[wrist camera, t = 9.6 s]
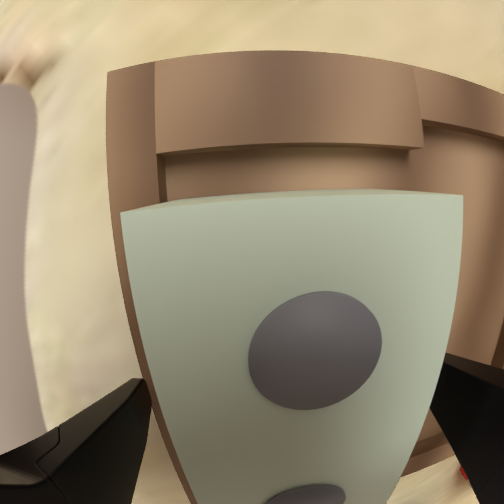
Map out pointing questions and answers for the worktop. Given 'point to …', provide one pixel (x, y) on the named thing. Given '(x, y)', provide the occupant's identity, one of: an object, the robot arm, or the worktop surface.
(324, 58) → the brown recessed board
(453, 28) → the worktop surface
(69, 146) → the worktop surface
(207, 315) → the pale green spotted block
